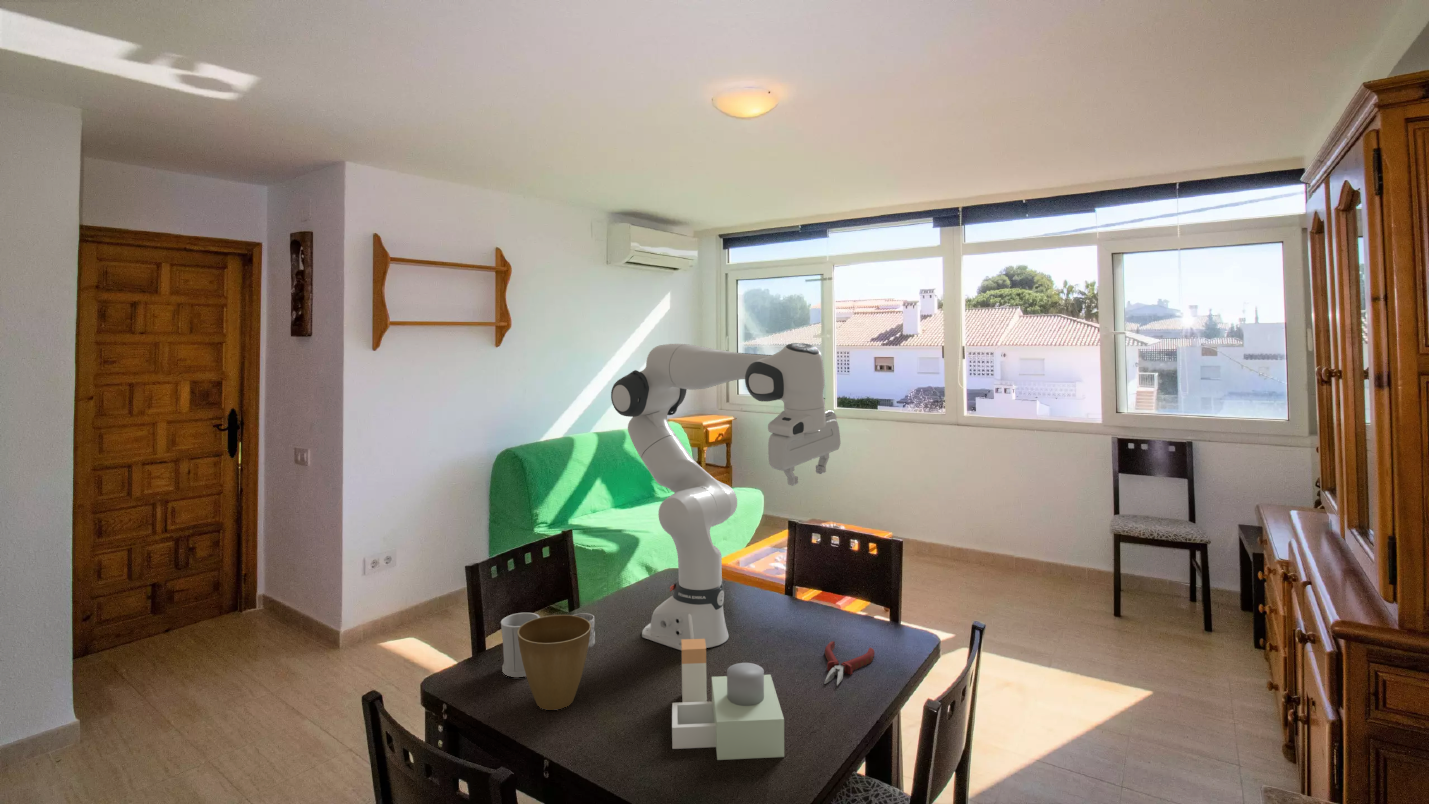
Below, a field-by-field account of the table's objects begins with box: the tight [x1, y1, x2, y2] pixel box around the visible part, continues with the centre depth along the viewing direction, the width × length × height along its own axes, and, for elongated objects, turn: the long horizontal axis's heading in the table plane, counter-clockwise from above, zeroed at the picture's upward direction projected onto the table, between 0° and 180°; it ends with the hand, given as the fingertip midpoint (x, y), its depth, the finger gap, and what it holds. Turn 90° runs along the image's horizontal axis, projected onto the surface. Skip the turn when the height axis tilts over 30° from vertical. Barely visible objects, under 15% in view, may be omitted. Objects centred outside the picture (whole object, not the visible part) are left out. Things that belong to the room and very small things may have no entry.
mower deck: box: [671, 662, 785, 761], centre depth 127 cm, size 20×17×12 cm
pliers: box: [823, 640, 876, 687], centre depth 154 cm, size 12×20×3 cm, turn 155°
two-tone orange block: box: [681, 639, 708, 702], centre depth 140 cm, size 5×5×12 cm
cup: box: [500, 612, 541, 677], centre depth 154 cm, size 10×9×12 cm
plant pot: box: [517, 614, 591, 710], centre depth 140 cm, size 15×15×16 cm
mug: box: [572, 612, 596, 649], centre depth 170 cm, size 10×7×7 cm
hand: (807, 478), depth 149 cm, fingers open, 8 cm apart
